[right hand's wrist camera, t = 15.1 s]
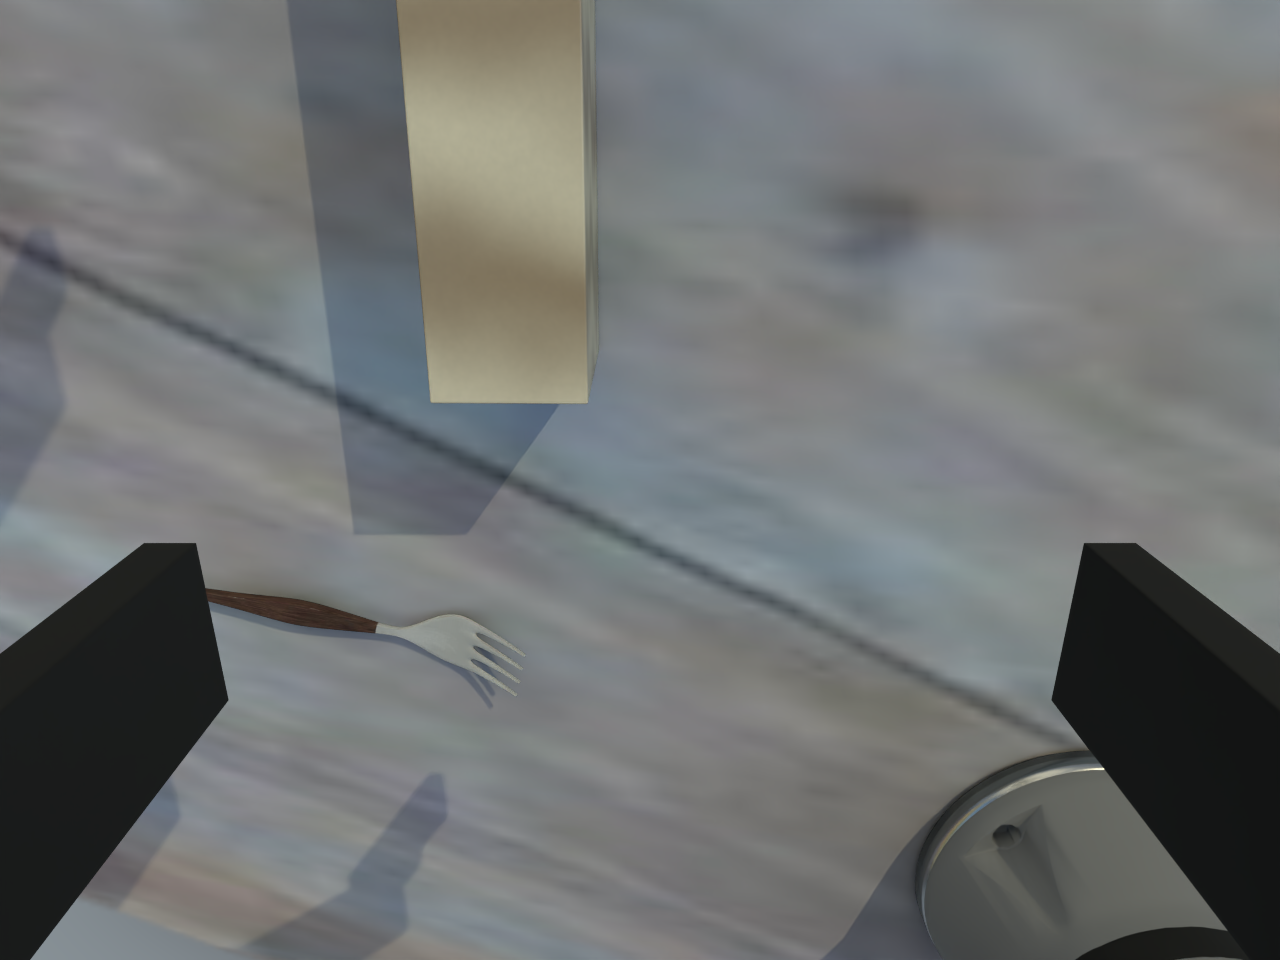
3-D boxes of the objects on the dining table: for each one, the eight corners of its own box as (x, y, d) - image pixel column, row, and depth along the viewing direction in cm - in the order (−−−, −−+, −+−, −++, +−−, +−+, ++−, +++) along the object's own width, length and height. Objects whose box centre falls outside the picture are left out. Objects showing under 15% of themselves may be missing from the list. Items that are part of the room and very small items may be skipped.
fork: (178, 556, 37) (154, 577, 35) (532, 627, 38) (526, 652, 37) (176, 606, 38) (152, 629, 36) (522, 674, 39) (516, 700, 37)
